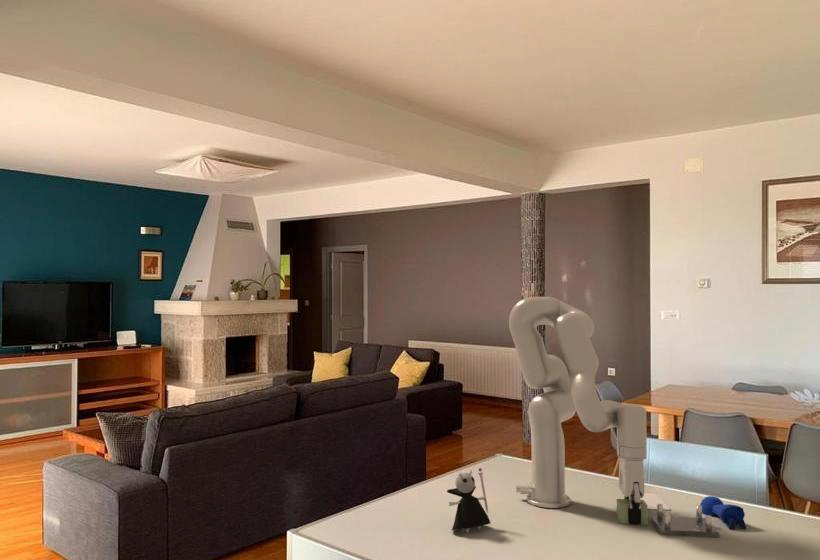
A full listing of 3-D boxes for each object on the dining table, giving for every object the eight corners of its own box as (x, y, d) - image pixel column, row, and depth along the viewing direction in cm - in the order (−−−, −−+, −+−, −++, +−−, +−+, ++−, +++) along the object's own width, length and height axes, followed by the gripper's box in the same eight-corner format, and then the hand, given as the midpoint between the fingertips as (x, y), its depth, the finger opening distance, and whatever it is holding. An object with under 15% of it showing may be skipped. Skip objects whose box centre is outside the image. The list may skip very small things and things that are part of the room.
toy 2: (750, 532, 163) (717, 509, 178) (750, 508, 162) (717, 487, 177) (725, 532, 162) (694, 510, 177) (725, 508, 162) (694, 488, 177)
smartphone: (646, 509, 177) (633, 492, 192) (646, 511, 177) (633, 494, 192) (671, 510, 176) (657, 492, 191) (671, 512, 176) (657, 494, 191)
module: (620, 523, 167) (619, 502, 167) (616, 517, 171) (616, 497, 171) (647, 524, 166) (647, 503, 166) (643, 518, 170) (643, 498, 170)
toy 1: (460, 535, 156) (450, 472, 161) (447, 534, 162) (438, 474, 166) (499, 527, 162) (489, 466, 166) (485, 526, 167) (475, 468, 172)
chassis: (660, 534, 159) (660, 515, 159) (650, 520, 169) (650, 502, 169) (719, 537, 157) (718, 518, 157) (705, 522, 167) (705, 504, 167)
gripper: (611, 443, 178) (612, 508, 177) (623, 459, 161) (624, 531, 161) (639, 444, 177) (640, 509, 176) (654, 460, 160) (655, 532, 160)
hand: (632, 519), depth 169 cm, fingers closed on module, 4 cm apart
